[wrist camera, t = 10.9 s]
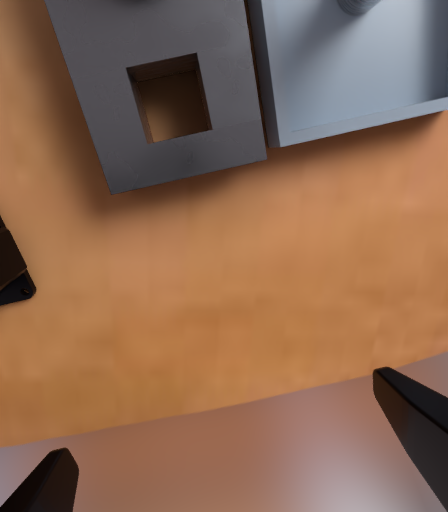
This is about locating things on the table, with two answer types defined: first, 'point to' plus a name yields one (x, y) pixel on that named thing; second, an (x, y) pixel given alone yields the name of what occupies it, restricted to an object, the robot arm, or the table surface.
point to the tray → (347, 65)
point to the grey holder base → (154, 66)
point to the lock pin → (357, 6)
